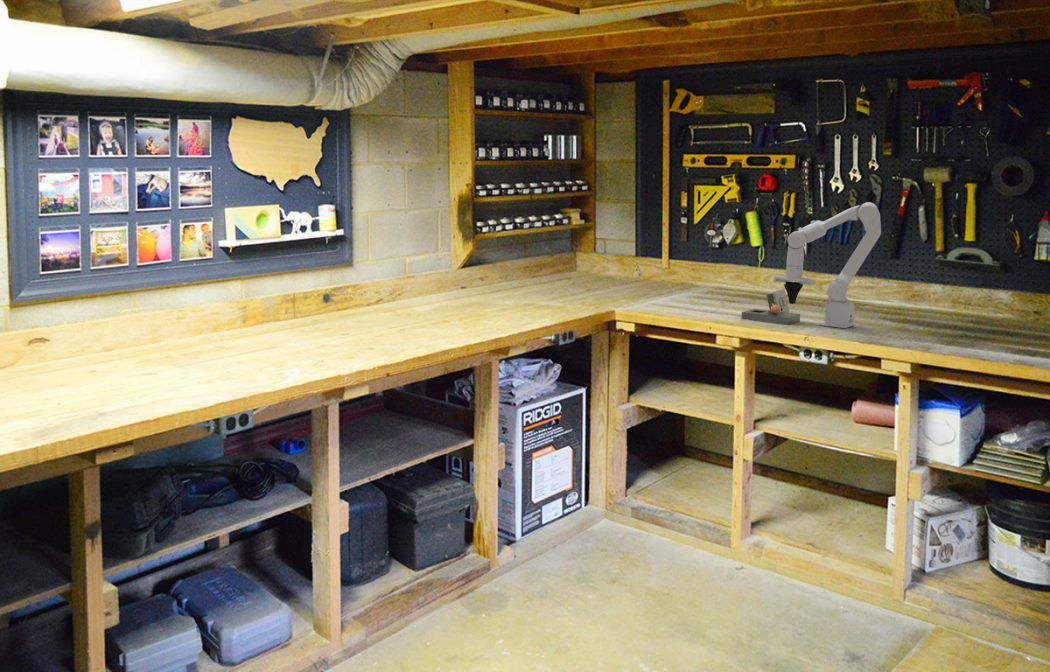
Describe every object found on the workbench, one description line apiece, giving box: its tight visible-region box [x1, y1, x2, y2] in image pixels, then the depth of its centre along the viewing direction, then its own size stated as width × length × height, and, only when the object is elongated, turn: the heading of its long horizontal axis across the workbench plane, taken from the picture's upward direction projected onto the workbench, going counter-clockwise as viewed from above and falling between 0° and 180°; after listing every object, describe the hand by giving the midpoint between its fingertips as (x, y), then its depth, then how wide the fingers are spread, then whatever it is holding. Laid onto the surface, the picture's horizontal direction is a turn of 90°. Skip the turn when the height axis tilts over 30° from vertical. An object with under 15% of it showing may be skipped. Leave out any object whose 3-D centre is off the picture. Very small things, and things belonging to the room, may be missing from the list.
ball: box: [769, 304, 780, 314], centre depth 343 cm, size 3×3×3 cm
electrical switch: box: [766, 288, 790, 313], centre depth 357 cm, size 9×5×9 cm, turn 141°
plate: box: [740, 308, 801, 326], centre depth 344 cm, size 18×10×2 cm, turn 50°
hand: (792, 303), depth 338 cm, fingers closed
